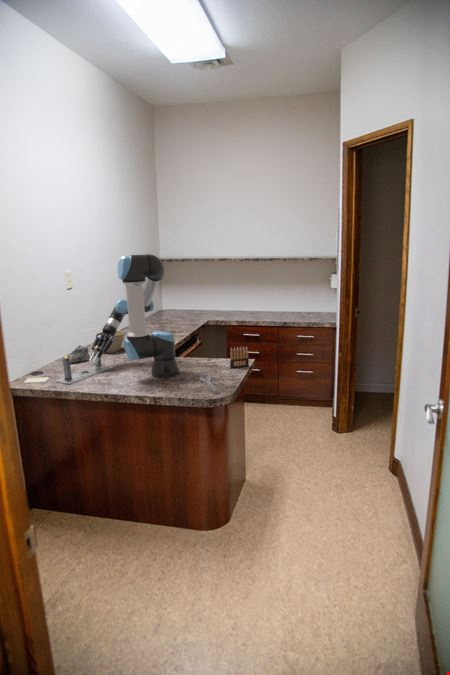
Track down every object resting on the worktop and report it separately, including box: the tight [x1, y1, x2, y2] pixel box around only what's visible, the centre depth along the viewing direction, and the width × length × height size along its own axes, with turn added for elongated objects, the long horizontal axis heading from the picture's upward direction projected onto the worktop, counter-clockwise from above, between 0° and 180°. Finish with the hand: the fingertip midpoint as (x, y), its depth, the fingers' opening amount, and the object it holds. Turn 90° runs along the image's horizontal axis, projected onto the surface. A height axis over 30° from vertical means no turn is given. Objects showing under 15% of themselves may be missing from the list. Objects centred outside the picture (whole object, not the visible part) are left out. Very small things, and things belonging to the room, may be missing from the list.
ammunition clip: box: [229, 345, 250, 370], centre depth 252 cm, size 11×2×12 cm, turn 104°
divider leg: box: [94, 346, 103, 368], centre depth 255 cm, size 3×3×12 cm
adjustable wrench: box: [199, 375, 220, 394], centre depth 224 cm, size 25×6×2 cm, turn 12°
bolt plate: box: [55, 355, 111, 385], centre depth 246 cm, size 10×30×13 cm, turn 151°
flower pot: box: [95, 330, 125, 354], centre depth 296 cm, size 18×18×12 cm
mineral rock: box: [68, 344, 91, 363], centre depth 275 cm, size 13×11×10 cm
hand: (92, 361), depth 252 cm, fingers closed on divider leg, 2 cm apart
